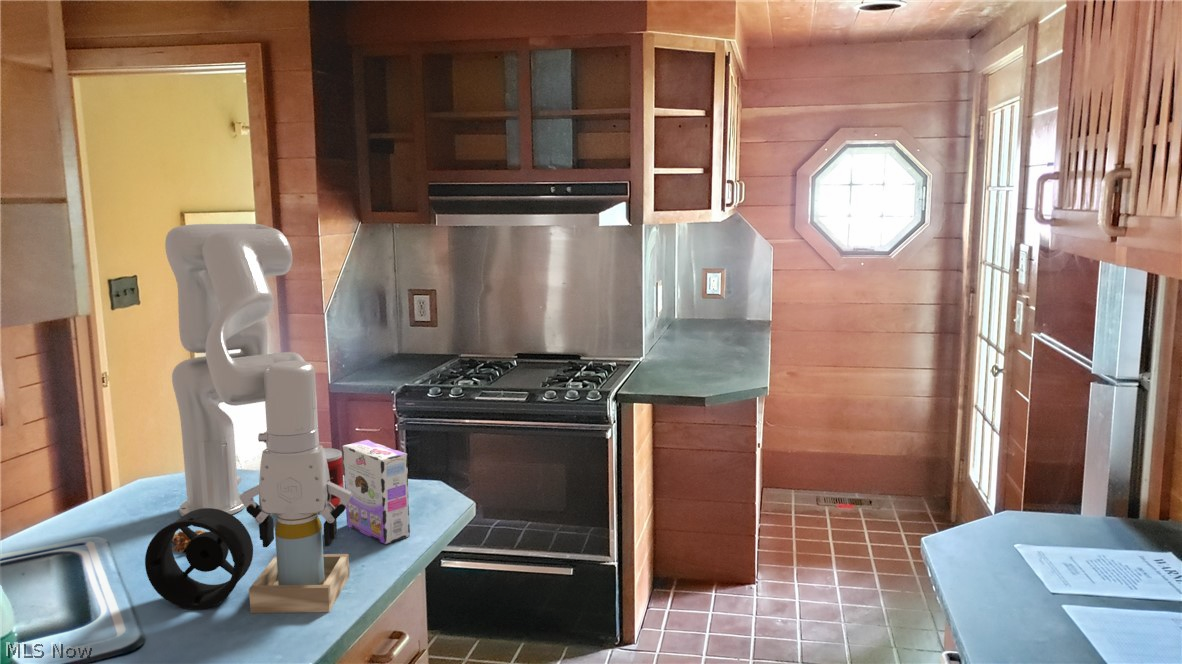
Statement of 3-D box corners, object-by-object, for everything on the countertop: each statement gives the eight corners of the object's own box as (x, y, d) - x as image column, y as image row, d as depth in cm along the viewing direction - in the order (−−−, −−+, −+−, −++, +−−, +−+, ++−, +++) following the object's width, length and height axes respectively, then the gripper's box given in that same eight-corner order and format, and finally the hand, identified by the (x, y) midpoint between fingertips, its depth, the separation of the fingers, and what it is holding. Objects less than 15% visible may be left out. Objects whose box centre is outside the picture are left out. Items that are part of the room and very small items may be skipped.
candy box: (411, 536, 154) (408, 452, 151) (384, 546, 149) (381, 460, 147) (371, 517, 163) (368, 437, 160) (345, 525, 159) (341, 444, 156)
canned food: (328, 494, 175) (326, 445, 173) (352, 503, 170) (350, 452, 168) (297, 505, 169) (294, 454, 167) (321, 514, 164) (318, 462, 162)
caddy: (277, 577, 137) (276, 554, 136) (349, 576, 137) (348, 553, 137) (250, 613, 125) (248, 588, 125) (329, 611, 126) (328, 587, 125)
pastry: (186, 532, 156) (185, 515, 155) (230, 544, 151) (228, 526, 150) (153, 546, 150) (151, 528, 149) (197, 559, 144) (195, 540, 144)
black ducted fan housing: (261, 497, 133) (234, 522, 124) (267, 580, 136) (241, 610, 126) (174, 497, 133) (140, 521, 124) (181, 580, 136) (148, 610, 126)
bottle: (332, 579, 134) (328, 492, 132) (310, 599, 127) (304, 508, 125) (294, 575, 135) (289, 489, 133) (269, 595, 129) (263, 505, 126)
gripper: (227, 448, 123) (234, 554, 126) (342, 447, 124) (347, 553, 127) (246, 433, 131) (253, 534, 133) (355, 433, 131) (359, 533, 134)
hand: (299, 543), depth 130 cm, fingers open, 9 cm apart
